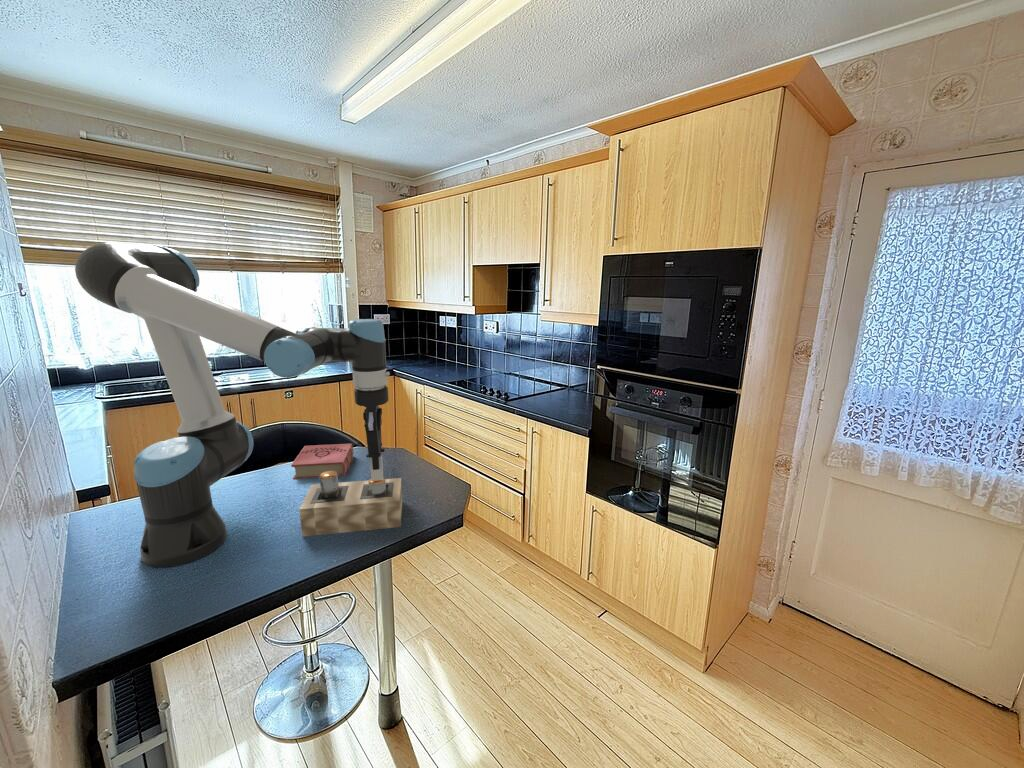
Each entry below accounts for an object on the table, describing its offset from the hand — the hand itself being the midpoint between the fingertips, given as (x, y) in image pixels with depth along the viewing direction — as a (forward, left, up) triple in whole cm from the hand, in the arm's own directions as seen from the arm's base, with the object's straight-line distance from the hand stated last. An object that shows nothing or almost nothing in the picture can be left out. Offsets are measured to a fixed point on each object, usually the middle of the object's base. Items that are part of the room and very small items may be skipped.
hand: (377, 479), depth 106 cm
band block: (-6, 0, -10) cm, 12 cm away
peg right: (0, 0, -7) cm, 7 cm away
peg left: (-11, 0, -5) cm, 12 cm away
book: (-19, +32, -11) cm, 39 cm away
